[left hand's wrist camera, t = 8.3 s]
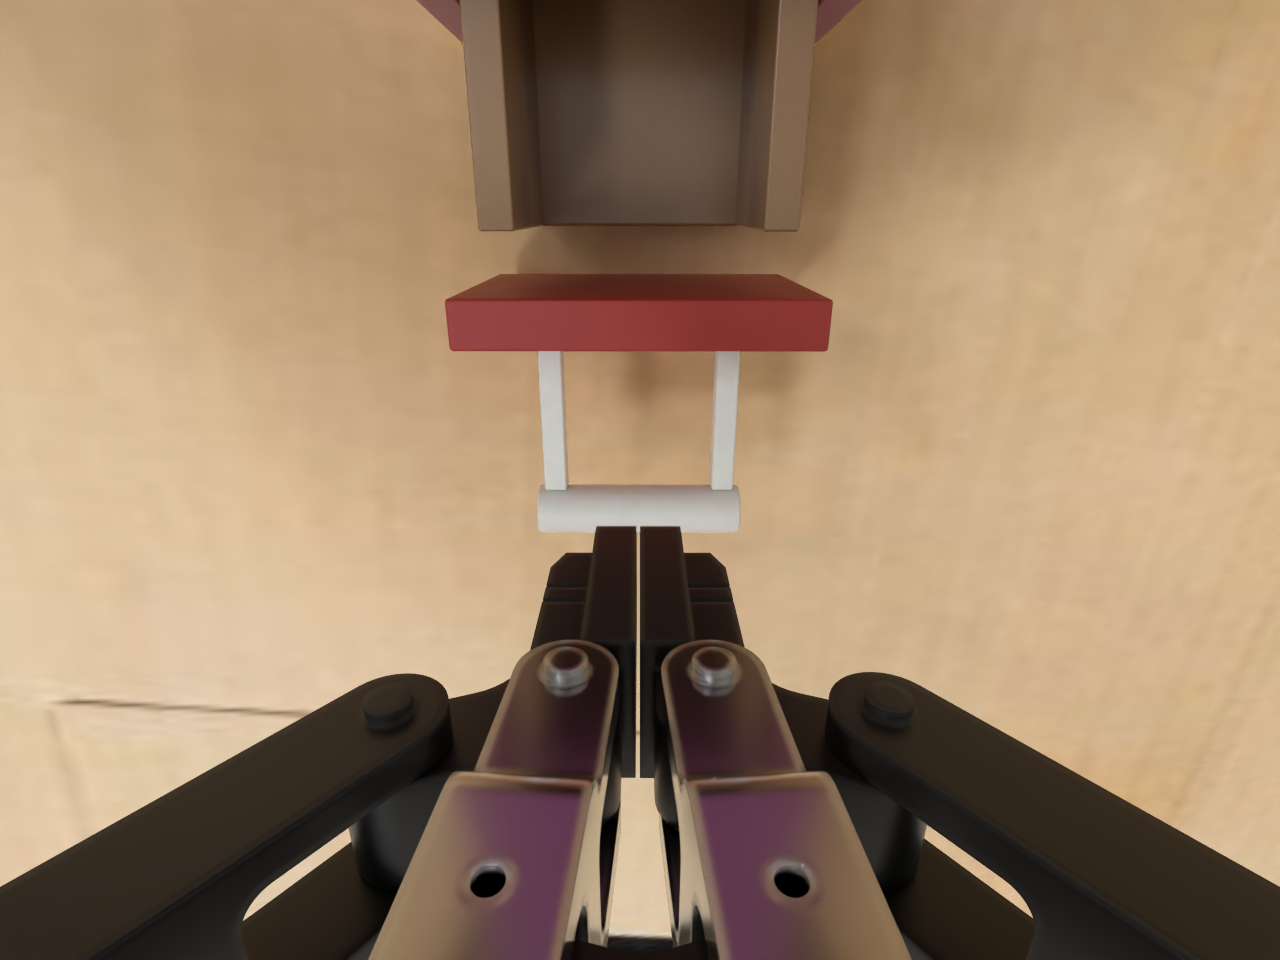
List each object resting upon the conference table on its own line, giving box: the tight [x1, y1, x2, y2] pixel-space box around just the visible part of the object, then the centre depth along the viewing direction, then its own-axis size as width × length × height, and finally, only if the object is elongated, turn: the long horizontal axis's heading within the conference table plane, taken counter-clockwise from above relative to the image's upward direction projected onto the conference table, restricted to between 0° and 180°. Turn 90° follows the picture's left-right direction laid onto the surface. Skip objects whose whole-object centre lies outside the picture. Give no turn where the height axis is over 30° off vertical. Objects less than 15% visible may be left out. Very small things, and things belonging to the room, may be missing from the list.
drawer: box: [445, 0, 833, 533], centre depth 17 cm, size 22×9×6 cm, turn 0°
